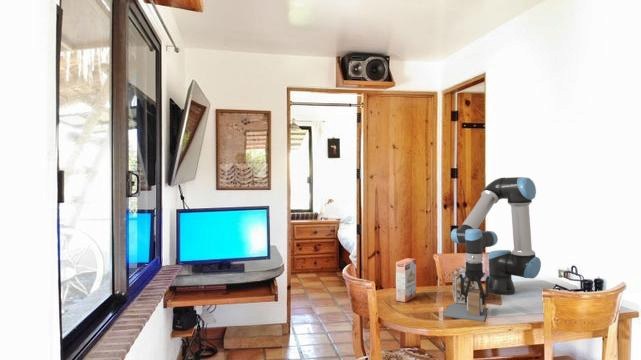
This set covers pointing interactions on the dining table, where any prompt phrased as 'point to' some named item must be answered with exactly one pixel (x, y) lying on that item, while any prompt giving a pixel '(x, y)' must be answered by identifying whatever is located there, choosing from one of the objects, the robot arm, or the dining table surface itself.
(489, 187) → the robot arm
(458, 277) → the decorative jar
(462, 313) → the rubber mat
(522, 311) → the dining table surface
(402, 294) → the cracker box
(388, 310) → the dining table surface
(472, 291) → the walnut block
